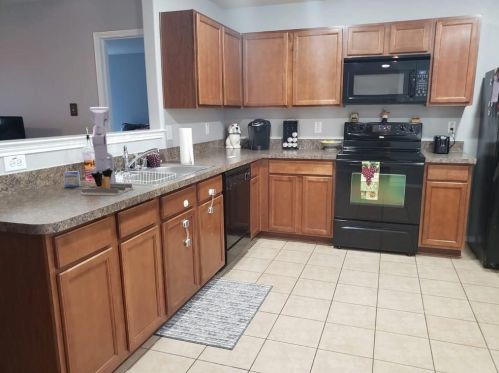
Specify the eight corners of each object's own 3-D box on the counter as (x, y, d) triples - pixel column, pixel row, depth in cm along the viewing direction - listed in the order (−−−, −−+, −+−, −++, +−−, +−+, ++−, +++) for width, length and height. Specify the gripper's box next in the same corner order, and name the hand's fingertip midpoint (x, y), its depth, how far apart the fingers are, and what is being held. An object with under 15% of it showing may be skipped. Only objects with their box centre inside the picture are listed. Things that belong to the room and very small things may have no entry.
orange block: (100, 189, 200) (98, 176, 199) (110, 190, 199) (109, 176, 198) (95, 191, 197) (94, 177, 195) (106, 191, 195) (105, 178, 194)
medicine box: (64, 187, 215) (62, 172, 214) (66, 186, 220) (64, 171, 218) (79, 186, 217) (78, 171, 216) (80, 185, 222) (79, 170, 220)
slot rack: (99, 188, 212) (99, 182, 211) (133, 188, 208) (132, 183, 207) (80, 194, 195) (80, 188, 195) (116, 195, 191) (116, 189, 191)
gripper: (101, 157, 203) (104, 182, 205) (85, 160, 189) (88, 187, 191) (114, 157, 201) (116, 182, 204) (98, 160, 187) (100, 187, 190)
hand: (103, 185), depth 197 cm, fingers open, 7 cm apart
